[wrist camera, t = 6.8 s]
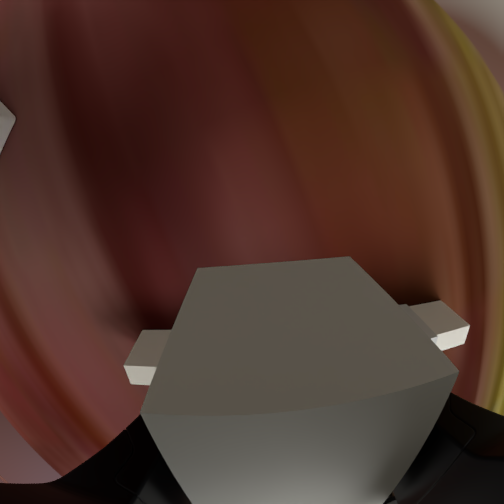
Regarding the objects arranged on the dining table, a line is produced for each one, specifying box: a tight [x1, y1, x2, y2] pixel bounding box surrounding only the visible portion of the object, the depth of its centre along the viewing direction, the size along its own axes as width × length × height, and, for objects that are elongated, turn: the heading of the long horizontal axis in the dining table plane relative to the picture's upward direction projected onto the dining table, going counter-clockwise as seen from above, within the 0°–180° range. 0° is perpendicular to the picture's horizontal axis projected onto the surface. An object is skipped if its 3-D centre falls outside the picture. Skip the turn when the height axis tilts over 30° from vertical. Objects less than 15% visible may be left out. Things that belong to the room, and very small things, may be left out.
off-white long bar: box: [124, 300, 470, 385], centre depth 17 cm, size 2×22×4 cm, turn 94°
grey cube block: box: [140, 257, 459, 504], centre depth 7 cm, size 6×5×6 cm
